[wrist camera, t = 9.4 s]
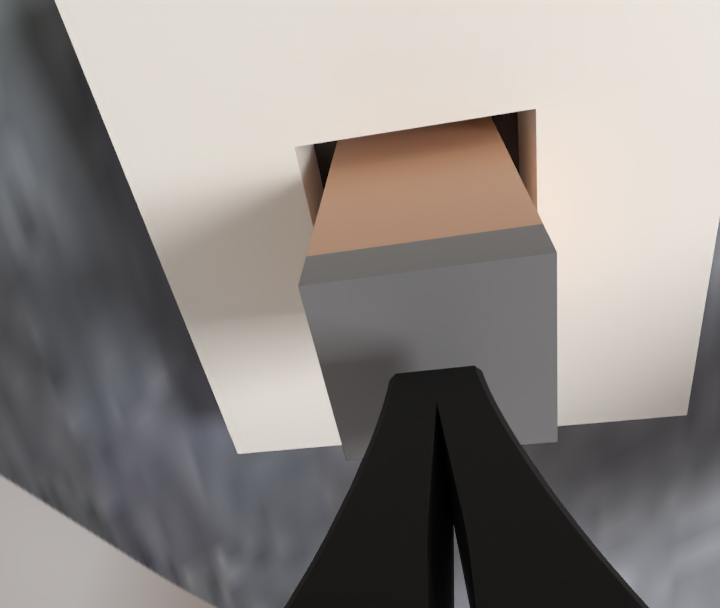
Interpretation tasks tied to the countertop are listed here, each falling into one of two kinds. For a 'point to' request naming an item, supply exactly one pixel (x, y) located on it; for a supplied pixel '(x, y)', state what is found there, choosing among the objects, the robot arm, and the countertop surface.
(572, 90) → the socket plate
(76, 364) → the countertop surface
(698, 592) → the countertop surface
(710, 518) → the countertop surface
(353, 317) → the plug
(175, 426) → the countertop surface
